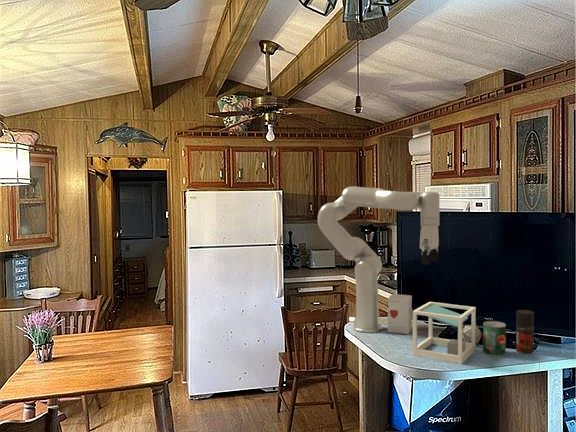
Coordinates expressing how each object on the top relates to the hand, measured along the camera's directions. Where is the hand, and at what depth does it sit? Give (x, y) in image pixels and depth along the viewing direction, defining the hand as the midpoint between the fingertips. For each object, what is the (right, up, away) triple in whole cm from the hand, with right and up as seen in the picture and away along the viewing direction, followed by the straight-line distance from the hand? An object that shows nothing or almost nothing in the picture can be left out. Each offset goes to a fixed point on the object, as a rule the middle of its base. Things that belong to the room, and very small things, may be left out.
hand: (430, 262), depth 213 cm
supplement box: (-11, -30, +9) cm, 33 cm away
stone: (+1, -29, -22) cm, 37 cm away
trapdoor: (-1, -18, -22) cm, 28 cm away
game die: (+13, -31, -12) cm, 36 cm away
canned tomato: (+18, -32, -22) cm, 43 cm away
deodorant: (+30, -31, -21) cm, 48 cm away
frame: (-1, -32, -21) cm, 38 cm away
